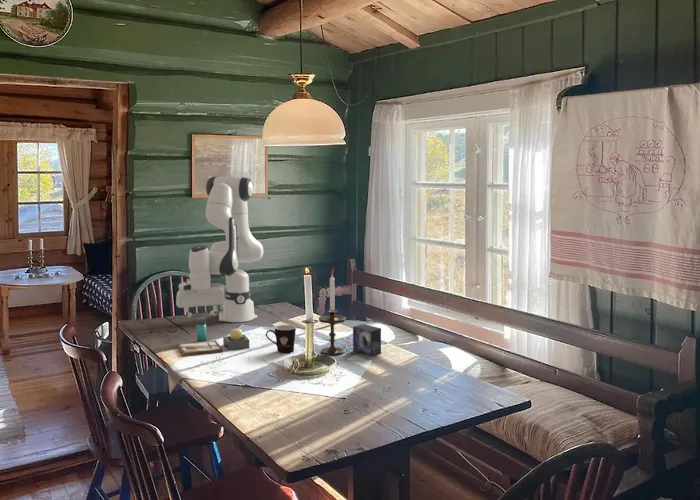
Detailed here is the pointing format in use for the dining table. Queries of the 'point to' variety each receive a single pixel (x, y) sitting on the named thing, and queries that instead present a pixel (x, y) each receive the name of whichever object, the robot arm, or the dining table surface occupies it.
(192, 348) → the board
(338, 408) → the dining table surface
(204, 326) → the teal bottle
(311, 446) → the dining table surface
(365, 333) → the small box
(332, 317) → the candlestick
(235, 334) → the button cap
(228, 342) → the button housing
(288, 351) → the coffee mug
